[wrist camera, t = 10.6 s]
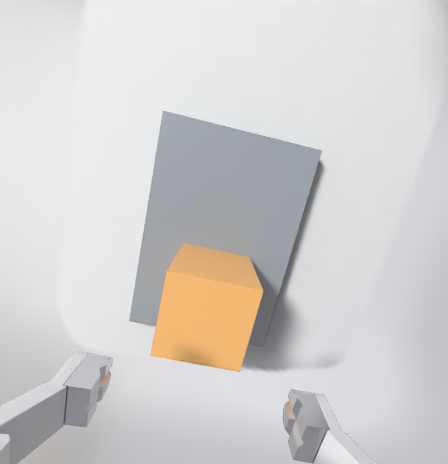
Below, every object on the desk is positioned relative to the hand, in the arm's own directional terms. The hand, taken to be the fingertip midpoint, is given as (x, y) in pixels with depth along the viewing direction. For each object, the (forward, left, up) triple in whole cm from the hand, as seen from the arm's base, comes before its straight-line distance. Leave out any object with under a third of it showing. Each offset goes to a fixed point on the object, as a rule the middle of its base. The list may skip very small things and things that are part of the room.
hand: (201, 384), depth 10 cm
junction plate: (-4, 0, -14) cm, 14 cm away
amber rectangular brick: (0, 0, -12) cm, 12 cm away
